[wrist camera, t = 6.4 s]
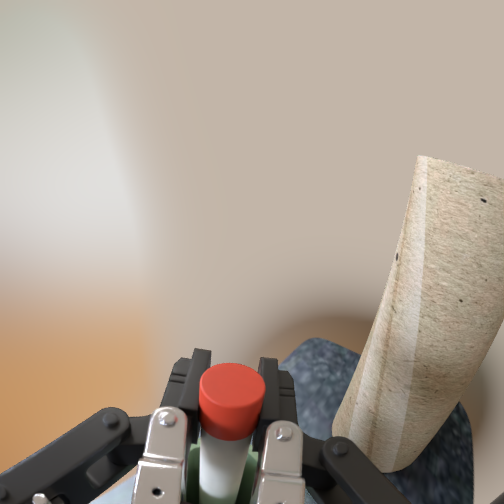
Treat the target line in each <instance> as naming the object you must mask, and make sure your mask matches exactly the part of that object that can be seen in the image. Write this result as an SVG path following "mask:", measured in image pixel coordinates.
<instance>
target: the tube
mask: <svg viewBox="0 0 504 504" xmlns="http://www.w3.org/2000/svg"><path fill="white" fill-rule="evenodd" d="M503 319H504V179H501V178H498V177H495V176H493V175H490V174H487V173H484V172H481V171H478V170H475V169H471V168H468V167H465V166H462V165H458V164H454V163H451V162H448V161H444V160H440V159H436V158H431V157H427V156H421V155H418V156H417V161H416V166H415V172H414V177H413V182H412V187H411V192H410V197H409V201H408V206H407V210H406V214H405V218H404V223H403V227H402V231H401V235H400V238H399V242H398V246H397V250H396V253H395V257H394V261H393V264H392V268H391V271H390V274H389V278H388V281H387V284H386V287H385V291H384V294H383V297H382V300H381V303H380V306H379V309H378V312H377V315H376V318H375V320H374V323H373V326H372V329H371V332H370V335H369V337H368V340H367V342H366V345H365V348H364V351H363V353H362V355H361V358H360V361H359V363H358V366H357V368H356V370H355V373H354V375H353V378H352V380H351V382H350V385H349V387H348V389H347V392H346V394H345V396H344V398H343V401H342V403H341V405H340V407H339V409H338V412H337V414H336V416H335V419H334V421H333V424H332V435H333V437H335V436H342V437H346V438H348V439H350V440H351V441H353V442H354V443H355V444H356V445H357V447H358V448H359V449H360V450H361V451H362V452H363V453H364V454H365V455H366V456H367V457H368V459H369V460H370V461H371V462H372V463H373V464H374V465H375V466H376V467H377V468H378V469H379V470H380V471H381V472H382V473H390V472H394V471H398V470H402V469H403V468H405V467H407V466H409V465H411V463H412V462H413V461H414V460H415V459H416V458H417V457H418V456H419V455H420V453H421V452H422V451H423V450H424V448H425V447H426V446H427V445H428V443H429V442H430V441H431V439H432V438H433V437H434V436H435V434H436V433H437V432H438V430H439V429H440V427H441V426H442V425H443V423H444V422H445V421H446V419H447V418H448V416H449V415H450V413H451V412H452V410H453V409H454V407H455V406H456V404H457V403H458V401H459V400H460V398H461V397H462V395H463V394H464V392H465V390H466V389H467V387H468V386H469V384H470V382H471V381H472V379H473V377H474V375H475V373H476V372H477V370H478V368H479V367H480V365H481V363H482V361H483V360H484V358H485V356H486V354H487V352H488V350H489V348H490V346H491V344H492V342H493V340H494V338H495V336H496V334H497V332H498V330H499V328H500V326H501V324H502V322H503Z"/></svg>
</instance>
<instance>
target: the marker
mask: <svg viewBox="0 0 504 504" xmlns="http://www.w3.org/2000/svg"><path fill="white" fill-rule="evenodd" d="M265 391H266V386H265V383H264V380H263V378H262V377H261V376H260V374H259V373H257V372H256V371H255V370H253V369H252V368H250V367H247V366H245V365H241V364H237V363H222V364H217V365H214V366H212V367H210V368H209V369H207V370H206V371H205V372H204V373H203V375H202V376H201V379H200V388H199V422H200V425H201V438H200V483H199V504H235V502H236V498H237V494H238V491H239V487H240V483H241V479H242V475H243V471H244V467H245V463H246V459H247V455H248V451H249V447H250V442H251V438H252V434H253V432H254V431H255V429H256V427H257V423H258V419H259V415H260V411H261V408H262V404H263V400H264V395H265Z"/></svg>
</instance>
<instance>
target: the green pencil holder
mask: <svg viewBox="0 0 504 504" xmlns="http://www.w3.org/2000/svg"><path fill="white" fill-rule="evenodd" d="M257 461H258V452H252V445H250V447H249V451H248V455H247V459H246V463H245V467H244V471H243V475H242V479H241V483H240V487H239V491H238V494H237V498H236V502H235V504H250V499H251V493H252V487H253V482H254V476H255V470H256V465H257ZM199 483H200V438H198V443H197V445H196V444H191V448H190V453H189V455H188V469H187V486H186V502H189V503H192V504H199Z"/></svg>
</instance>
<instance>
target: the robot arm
mask: <svg viewBox="0 0 504 504" xmlns="http://www.w3.org/2000/svg"><path fill="white" fill-rule="evenodd" d="M210 364H211V351H210V350H203V349H197V348H195V349H194V352H193V356H192V359H188V358H180V359H179V360H178V361H177V362H176V363H175V364H174V367H173V369H172V372H171V375H170V378H169V381H168V384H167V387H166V390H165V393H164V396H163V399H162V402H161V405H160V407H159V408H157V409H156V410H154V411H153V413H152V414H150V415H148V416H142V417H128V415H127V414H126V412H124V411H123V410H121V409H119V408H115V407H108V408H104V409H102V410H100V411H98V412H97V413H95V414H94V415H92V416H91V417H90V418H88V419H86V420H85V421H83V422H82V423H80V424H79V425H77V426H76V427H74V428H73V429H71V430H70V431H68V432H67V433H65V434H63V435H62V436H60V437H59V438H57V439H56V440H54V441H53V442H51V443H50V444H48V445H46V446H45V447H43V448H42V449H40V450H38V451H37V452H35V453H34V454H32V455H31V456H29V457H27V458H26V459H24V460H23V461H21V462H19V463H18V464H16V465H14V466H13V467H11V468H9V469H8V470H6V471H4V472H3V473H1V474H0V504H89V503H90V502H91V501H93V500H94V499H95V498H96V497H98V496H99V495H100V494H102V493H103V492H104V491H105V490H107V489H108V488H109V487H111V486H112V485H113V484H114V483H115V482H117V481H118V480H119V479H120V478H122V477H123V476H124V475H125V474H127V473H128V472H129V471H130V470H132V469H133V468H134V467H135V466H136V465H138V466H137V472H136V477H135V483H134V489H133V495H132V501H131V504H192V503H189V502H186V486H187V469H188V455H189V453H190V448H191V444H196V445H197V443H198V437H199V432H200V427H201V425H200V422H199V388H200V379H201V376H202V375H203V373H204V372H205V371H206V370H207V369H209V368H210ZM258 373H259V374H260V376H261V377H262V378H263V380H264V383H265V386H266V391H265V395H264V400H263V404H262V408H261V411H260V415H259V419H258V423H257V427H256V429H255V431H254V432H253V440H252V452H258V461H257V465H256V470H255V476H254V482H253V487H252V493H251V499H250V504H304V496H305V487H306V489H307V490H308V492H309V493H310V494H311V496H312V497H313V498H314V499H315V501H316V502H317V503H318V504H411V503H410V502H409V501H408V499H407V498H406V497H405V496H404V495H403V494H402V493H401V492H400V491H399V490H398V489H397V488H396V487H395V486H394V485H393V484H392V483H391V482H390V481H389V480H388V479H387V478H386V477H385V476H384V475H383V474H382V472H381V471H380V470H379V469H378V468H377V467H376V466H375V465H374V464H373V463H372V462H371V461H370V460H369V459H368V457H367V456H366V455H365V454H364V453H363V452H362V451H361V450H360V449H359V448H358V447H357V445H356V444H355V443H354V442H353V441H351V440H350V439H348V438H346V437H342V436H335V437H331V438H329V439H327V440H326V441H322V440H318V439H315V438H312V437H310V436H308V435H306V434H305V433H304V432H302V430H301V429H300V427H299V425H298V421H297V411H296V400H295V390H294V381H293V378H292V377H291V375H290V374H289V372H288V371H281V370H278V360H277V359H275V358H264V357H261V358H260V363H259V367H258Z"/></svg>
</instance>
